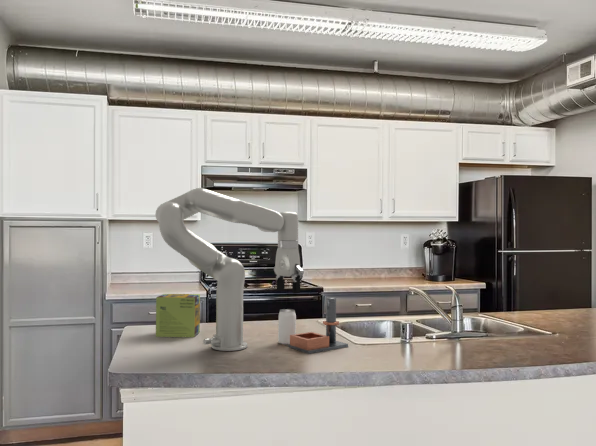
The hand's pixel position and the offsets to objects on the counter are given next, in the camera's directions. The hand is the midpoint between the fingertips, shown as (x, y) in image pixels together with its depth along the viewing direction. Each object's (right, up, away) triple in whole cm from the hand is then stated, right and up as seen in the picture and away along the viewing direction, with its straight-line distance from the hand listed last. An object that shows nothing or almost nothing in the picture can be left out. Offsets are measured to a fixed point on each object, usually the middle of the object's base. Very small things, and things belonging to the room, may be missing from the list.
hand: (288, 291), depth 204 cm
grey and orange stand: (+11, -19, -7) cm, 23 cm away
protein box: (-44, -19, +13) cm, 49 cm away
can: (-1, -19, 0) cm, 19 cm away
